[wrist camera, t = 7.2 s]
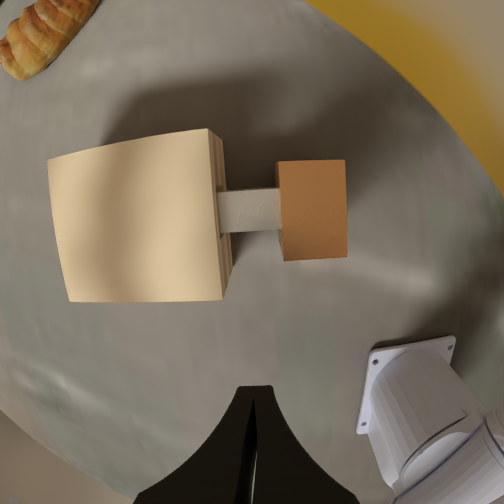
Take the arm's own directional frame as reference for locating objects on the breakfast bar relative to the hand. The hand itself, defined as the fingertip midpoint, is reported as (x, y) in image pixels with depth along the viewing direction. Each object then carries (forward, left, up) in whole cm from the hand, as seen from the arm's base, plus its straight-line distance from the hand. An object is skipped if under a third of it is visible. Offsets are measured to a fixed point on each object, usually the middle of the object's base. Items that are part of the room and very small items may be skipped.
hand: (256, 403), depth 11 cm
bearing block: (+7, +6, -9) cm, 13 cm away
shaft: (+7, +3, -9) cm, 12 cm away
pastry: (+23, +15, -10) cm, 30 cm away
